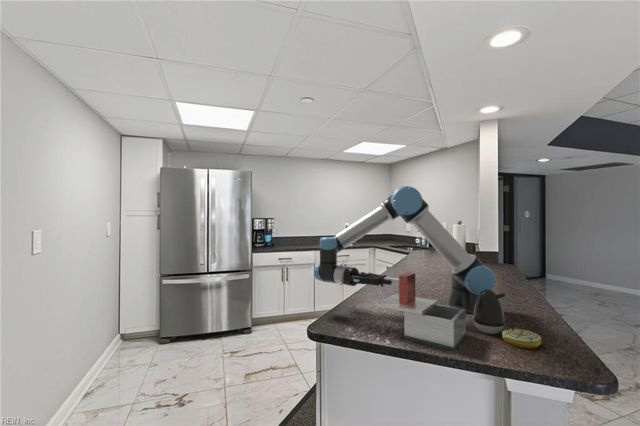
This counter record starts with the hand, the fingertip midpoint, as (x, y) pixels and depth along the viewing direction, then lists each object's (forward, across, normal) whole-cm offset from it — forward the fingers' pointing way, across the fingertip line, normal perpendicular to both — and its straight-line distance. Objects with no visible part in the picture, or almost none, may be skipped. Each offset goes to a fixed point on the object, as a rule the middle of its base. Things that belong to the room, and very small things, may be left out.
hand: (400, 283), depth 114 cm
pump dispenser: (+27, -16, -17) cm, 36 cm away
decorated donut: (+37, -12, -17) cm, 42 cm away
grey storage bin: (+12, 0, -17) cm, 21 cm away
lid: (+2, 0, -8) cm, 8 cm away
